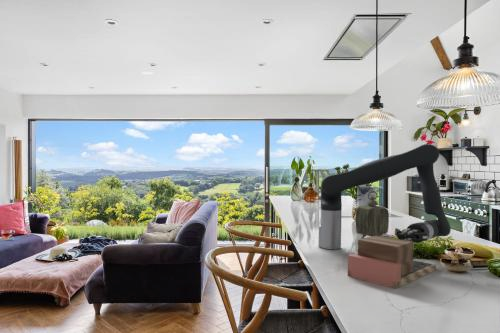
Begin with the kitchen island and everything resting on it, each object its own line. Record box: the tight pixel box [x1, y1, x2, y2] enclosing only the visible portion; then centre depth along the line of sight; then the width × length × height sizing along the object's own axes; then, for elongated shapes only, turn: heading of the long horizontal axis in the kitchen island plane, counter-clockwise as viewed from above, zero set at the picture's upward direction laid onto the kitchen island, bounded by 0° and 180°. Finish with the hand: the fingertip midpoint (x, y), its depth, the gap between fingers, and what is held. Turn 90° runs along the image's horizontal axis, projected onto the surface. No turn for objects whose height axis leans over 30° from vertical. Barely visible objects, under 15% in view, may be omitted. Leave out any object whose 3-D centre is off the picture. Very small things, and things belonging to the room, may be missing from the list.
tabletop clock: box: [355, 191, 390, 239], centre depth 183 cm, size 14×9×25 cm, turn 123°
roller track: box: [347, 253, 437, 289], centre depth 133 cm, size 32×17×7 cm, turn 133°
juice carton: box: [356, 184, 377, 209], centre depth 210 cm, size 9×10×27 cm
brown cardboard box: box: [357, 235, 414, 276], centre depth 128 cm, size 12×14×10 cm
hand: (400, 236), depth 137 cm, fingers closed
